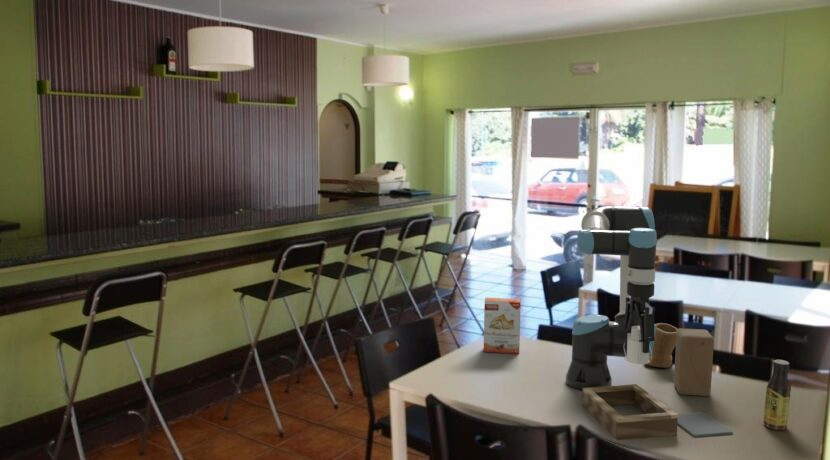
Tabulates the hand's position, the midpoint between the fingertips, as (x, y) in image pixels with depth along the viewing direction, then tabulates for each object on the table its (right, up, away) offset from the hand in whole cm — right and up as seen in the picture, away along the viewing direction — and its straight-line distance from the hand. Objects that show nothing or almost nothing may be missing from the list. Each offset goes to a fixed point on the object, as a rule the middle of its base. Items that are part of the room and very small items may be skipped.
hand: (637, 358), depth 199 cm
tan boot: (+26, -12, +53) cm, 60 cm away
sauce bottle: (+39, -20, -2) cm, 44 cm away
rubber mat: (+18, -19, 0) cm, 26 cm away
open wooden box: (-2, -19, +3) cm, 19 cm away
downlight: (0, -1, 0) cm, 1 cm away
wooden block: (+27, -16, +26) cm, 40 cm away
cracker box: (-31, -10, +68) cm, 75 cm away
